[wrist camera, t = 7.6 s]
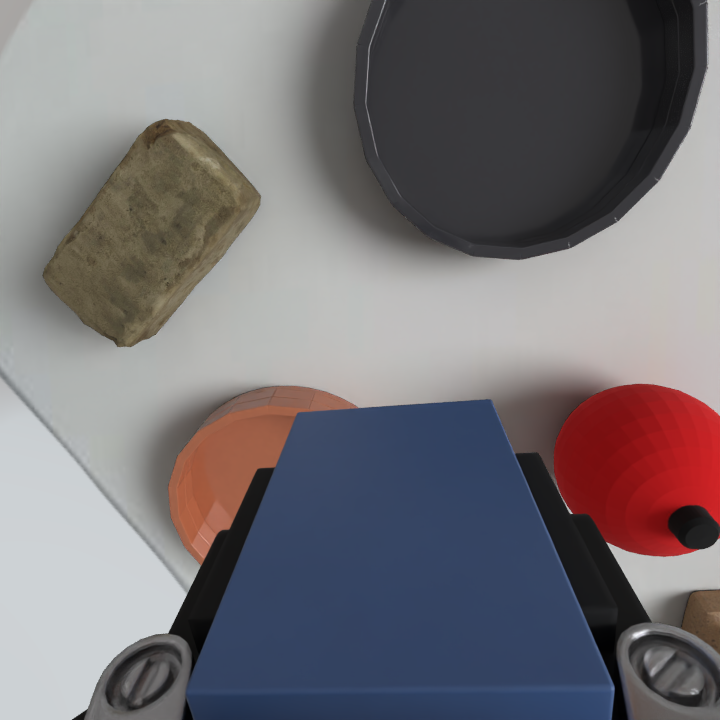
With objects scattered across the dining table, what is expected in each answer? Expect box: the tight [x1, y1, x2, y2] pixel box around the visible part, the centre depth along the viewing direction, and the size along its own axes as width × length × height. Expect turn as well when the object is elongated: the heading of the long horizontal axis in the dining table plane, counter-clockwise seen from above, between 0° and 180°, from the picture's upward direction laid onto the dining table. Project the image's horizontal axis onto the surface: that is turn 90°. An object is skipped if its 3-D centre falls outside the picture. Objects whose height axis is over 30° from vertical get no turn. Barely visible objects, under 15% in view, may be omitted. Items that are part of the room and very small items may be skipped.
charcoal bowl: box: [354, 0, 708, 260], centre depth 23 cm, size 15×15×3 cm
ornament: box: [554, 384, 720, 557], centre depth 26 cm, size 9×9×10 cm
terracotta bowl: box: [168, 386, 358, 565], centre depth 32 cm, size 15×15×3 cm
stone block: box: [43, 119, 261, 347], centre depth 26 cm, size 6×12×5 cm, turn 137°
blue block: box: [185, 399, 615, 720], centre depth 9 cm, size 4×4×6 cm
